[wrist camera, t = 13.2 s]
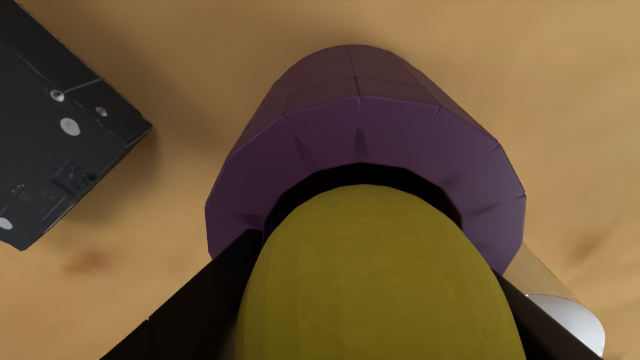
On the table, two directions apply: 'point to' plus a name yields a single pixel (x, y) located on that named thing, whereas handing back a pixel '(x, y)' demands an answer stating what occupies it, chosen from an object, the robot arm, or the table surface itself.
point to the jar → (366, 151)
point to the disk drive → (52, 127)
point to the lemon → (372, 286)
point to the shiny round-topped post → (554, 298)
